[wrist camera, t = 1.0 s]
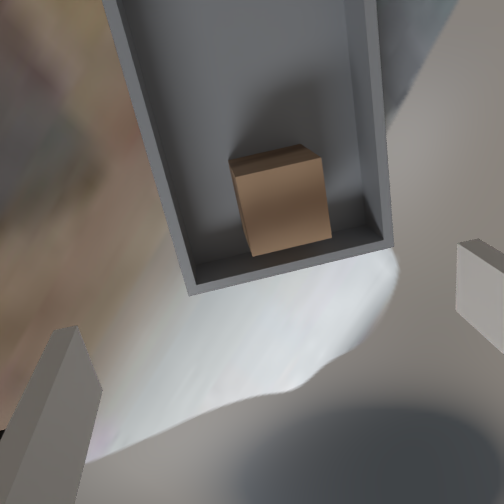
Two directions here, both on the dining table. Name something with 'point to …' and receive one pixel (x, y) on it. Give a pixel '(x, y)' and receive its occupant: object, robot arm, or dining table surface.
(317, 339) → the dining table surface
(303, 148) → the walnut block
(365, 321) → the dining table surface
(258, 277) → the gray tray
